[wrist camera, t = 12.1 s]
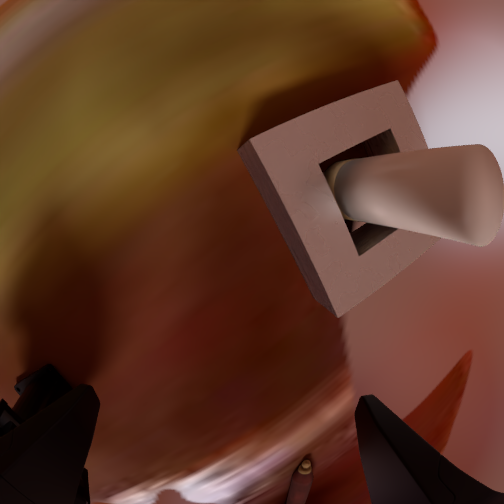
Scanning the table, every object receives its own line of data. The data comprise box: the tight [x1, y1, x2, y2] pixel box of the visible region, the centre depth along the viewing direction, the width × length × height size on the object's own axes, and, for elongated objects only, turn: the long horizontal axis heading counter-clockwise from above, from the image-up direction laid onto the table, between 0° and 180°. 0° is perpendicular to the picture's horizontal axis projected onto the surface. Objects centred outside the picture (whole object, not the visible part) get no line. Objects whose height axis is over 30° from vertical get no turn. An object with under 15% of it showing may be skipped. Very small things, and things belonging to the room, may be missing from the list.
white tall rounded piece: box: [324, 144, 504, 247], centre depth 15 cm, size 4×4×12 cm
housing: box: [237, 80, 441, 318], centre depth 19 cm, size 12×12×4 cm
